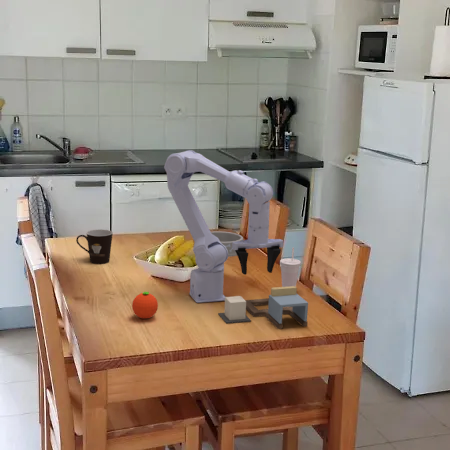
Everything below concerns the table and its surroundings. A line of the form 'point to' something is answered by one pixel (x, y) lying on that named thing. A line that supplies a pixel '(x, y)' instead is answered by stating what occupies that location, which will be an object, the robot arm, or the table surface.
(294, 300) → the cover
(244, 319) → the mat
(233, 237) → the dog bowl
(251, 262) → the table surface
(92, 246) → the coffee mug
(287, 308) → the puzzle board
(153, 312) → the clementine
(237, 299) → the block
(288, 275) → the smoothie
